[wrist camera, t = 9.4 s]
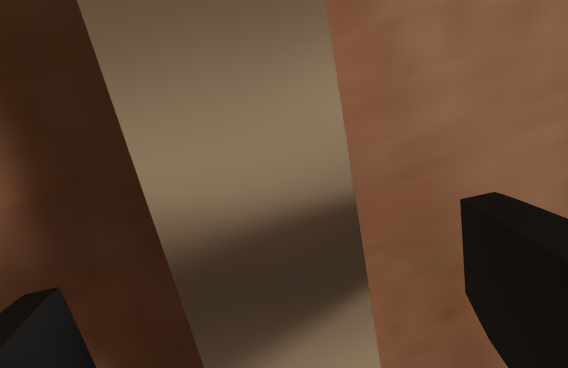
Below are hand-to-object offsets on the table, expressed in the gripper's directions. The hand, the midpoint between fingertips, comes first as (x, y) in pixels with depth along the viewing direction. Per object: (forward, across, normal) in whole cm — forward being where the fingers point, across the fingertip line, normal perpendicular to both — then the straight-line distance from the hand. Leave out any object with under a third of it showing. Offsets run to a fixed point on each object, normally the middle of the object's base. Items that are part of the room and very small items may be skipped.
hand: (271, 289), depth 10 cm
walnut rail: (+6, 0, -1) cm, 6 cm away
